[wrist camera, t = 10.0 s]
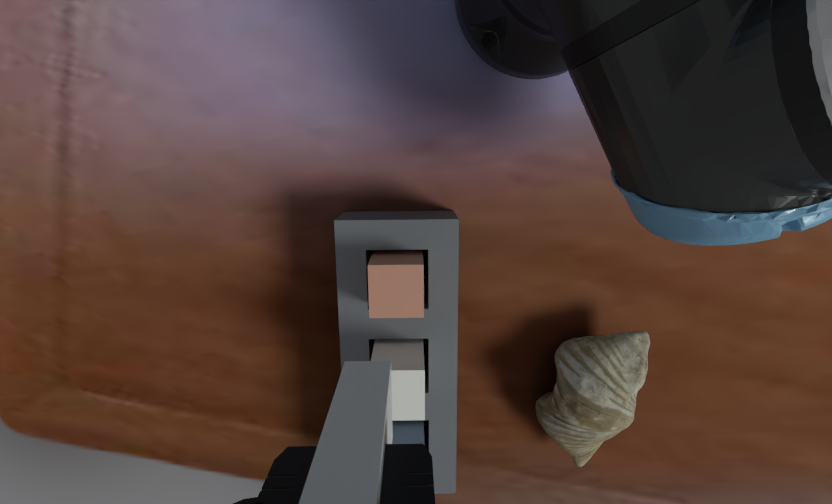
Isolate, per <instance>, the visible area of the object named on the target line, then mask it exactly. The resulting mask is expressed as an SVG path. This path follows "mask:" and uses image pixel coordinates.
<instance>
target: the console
mask: <svg viewBox="0 0 832 504" xmlns="http://www.w3.org/2000/svg"><path fill="white" fill-rule="evenodd" d="M334 232H335V253H336V274H337V295H338V316H339V337H340V358H341V371H342V368H343V365H344V362H345V361H371V357H372V352H373V347H374V342H375V339H427V365H424V366H425V420H427V434H424V443H425V447H426V448H427V450H428V451H429V453H430V454H431V455H432V462H433V478H434V494H456V432H457V345H458V259H459V219H458V217H457V216H456V214H455V213H454V211H352V212H343V213H342V214H341V215H340V216H338V217H337V218H336V219H335V220H334ZM372 250H427V290H424V318H369V293H368V263H369V260H370V258H371V255H372ZM407 421H410V420H407Z"/></svg>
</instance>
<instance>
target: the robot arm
mask: <svg viewBox="0 0 832 504" xmlns="http://www.w3.org/2000/svg"><path fill="white" fill-rule="evenodd" d="M455 5H456V11H457V16H458V20H459V23H460V26H461V28H462V31H463V33H464V35H465V37H466V39H467V41H468V42H469V44H470V45H471V47H472V48H473V49H474V51H475V52H476V53H477V54H478V55H479V56H480V57H481V58H482V59H483V60H484V61H485V62H486V63H488V64H489V65H490V66H492V67H493V68H495V69H497V70H499V71H501V72H503V73H505V74H508V75H511V76H514V77H518V78H525V79H541V78H548V77H552V76H556V75H559V74H562V73H564V72H566V71H569V70H570V71H569V74H570V76H571V78H572V80H573V83H574V85H575V87H576V89H577V92H578V94H579V96H580V98H581V101H582V103H583V105H584V107H585V110H586V112H587V114H588V116H589V119H590V121H591V123H592V125H593V128H594V130H595V132H596V134H597V137H598V139H599V141H600V143H601V146H602V148H603V150H604V152H605V154H606V157H607V159H608V161H609V163H610V166H611V168H612V169H611V176H612V180H613V182H614V184H615V186H616V187H617V188H618V189H619V190H620V192H621V193H622V194H623V195H624V197H625V199H626V201H627V203H628V205H629V207H630V209H631V211H632V213H633V215H634V216H635V218H636V219H637V221H638V222H639V223H641V225H643V226H644V227H645V228H646V229H647V230H648V231H650V232H651V233H653V234H655V235H657V236H659V237H662V238H664V239H667V240H670V241H674V242H679V243H685V244H693V245H736V244H746V243H753V242H759V241H764V240H769V239H774V238H778V237H779V236H780V234H781V232H782V231H786V230H794V231H803V230H806V229H809V228H811V227H814V226H816V225H819V224H821V223H823V222H825V221H827V220H829V219H831V218H832V0H455ZM392 440H393V424H392V379H391V361H345V362H344V365H343V368H342V371H341V375H340V378H339V381H338V384H337V387H336V390H335V393H334V396H333V399H332V402H331V405H330V409H329V412H328V415H327V418H326V421H325V424H324V427H323V430H322V433H321V436H320V439H319V442H318V446H299V447H287V448H286V449H285V450H284V451H283V452H282V453H281V454H280V455H279V456H278V457H277V458H276V459H275V460H274V462H273V464H272V466H271V469H270V471H269V473H268V477H267V478H266V480H265V482H264V484H263V487H262V491H260V493H259V495H258V497H255V498H250V499H243V500H241V501H238V502H236V503H234V504H435V494H434V478H433V462H432V455H431V454H430V453H429V451H428V450H427V448H426V447H425V445H424V444H392Z"/></svg>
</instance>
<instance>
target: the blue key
mask: <svg viewBox="0 0 832 504" xmlns="http://www.w3.org/2000/svg"><path fill="white" fill-rule="evenodd" d="M392 424H393V440H392V444H424V445H425V443H424V420H410V421H392Z"/></svg>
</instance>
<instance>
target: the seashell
mask: <svg viewBox="0 0 832 504" xmlns="http://www.w3.org/2000/svg"><path fill="white" fill-rule="evenodd" d="M649 346H650V339H649V335H648V333H647V332H644V331H633V332H623V333H617V334H612V335H607V336H605V335H600V336H584V337H580V338H572V339H570V340H568V341H565V342H563V343H562V344H561V345H560V346H559V347H558V349H557V350H556V353H555V356H554V361H555V364H556V369H557V382H556V384H555V387H554V390H553V391H552V392H548V393H546V394H544V395H543V396H542V397H540V398H539V399H538V400H537V401H536V406H535V411H536V414H537V418H538V421H539V423H540V424H541V426H542V427H543V429H544V431H545V432H546V433H547V434H548V435H549V436H550V437H551V438H553V439H554V440H555V441H556V443H557V444H558V445H559V446H561V447H562V448H563V449H565V450H566V451H567V452H568V453H570V455H571V456H572V457H573V459H574V463H575V464H576V465H577V466H580V467H581V466H583V465H584V464H585V463H586V462H587V461H588V460H589V459H590V458H591V456H592V455H593V454H594V453H595V452H596V450H597V449H598V448H599V447H600V445H601V444H602V443H603V441H605V440H608V439H610V438H612V437H613V436H615V435H616V434H618V433H619V432H620V431H621V430H623V429H625V428H627V427H629V425H630V424H631V423H632V422H633V420H634V411H635V407H636V396H637V392H638V390H639V389H640V388H641V387H642V386H643V384H644V382H645V378H646V374H647V369H648V360H647V355H648V350H649Z"/></svg>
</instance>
